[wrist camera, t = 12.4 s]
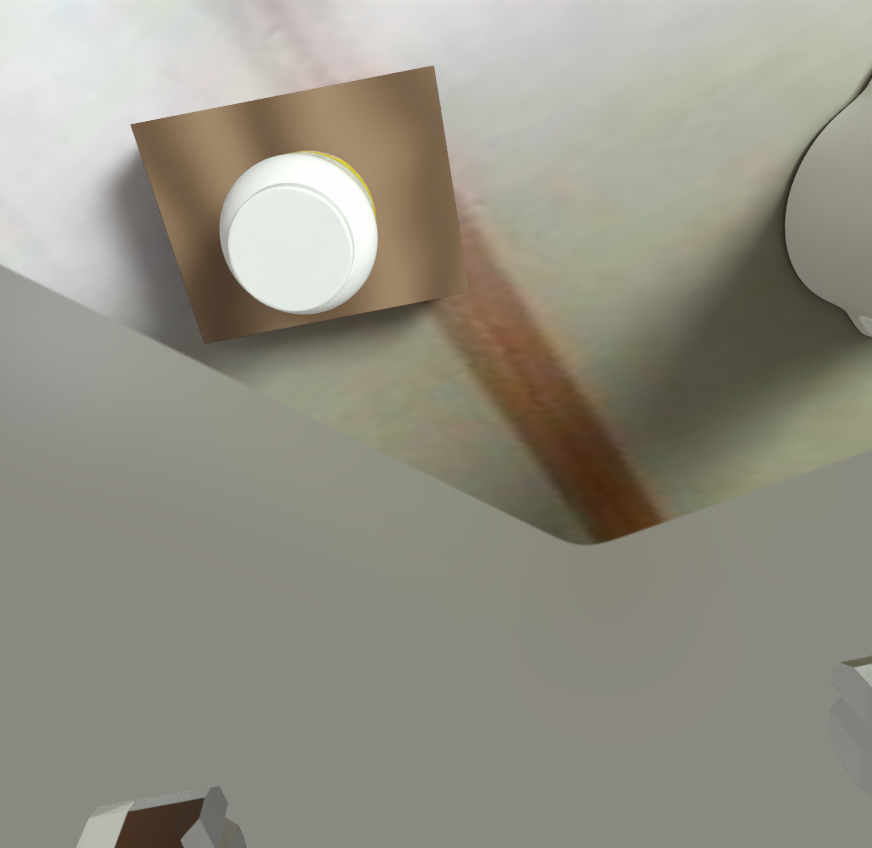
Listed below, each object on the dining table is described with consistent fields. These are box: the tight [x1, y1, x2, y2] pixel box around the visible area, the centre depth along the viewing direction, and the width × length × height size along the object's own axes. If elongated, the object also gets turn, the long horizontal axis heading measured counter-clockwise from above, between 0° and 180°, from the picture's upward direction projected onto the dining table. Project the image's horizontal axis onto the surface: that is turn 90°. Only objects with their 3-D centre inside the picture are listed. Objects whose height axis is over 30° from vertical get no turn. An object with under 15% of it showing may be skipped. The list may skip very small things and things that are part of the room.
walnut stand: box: [130, 66, 469, 344], centre depth 38 cm, size 16×12×5 cm
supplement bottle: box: [220, 151, 378, 314], centre depth 30 cm, size 7×7×13 cm
